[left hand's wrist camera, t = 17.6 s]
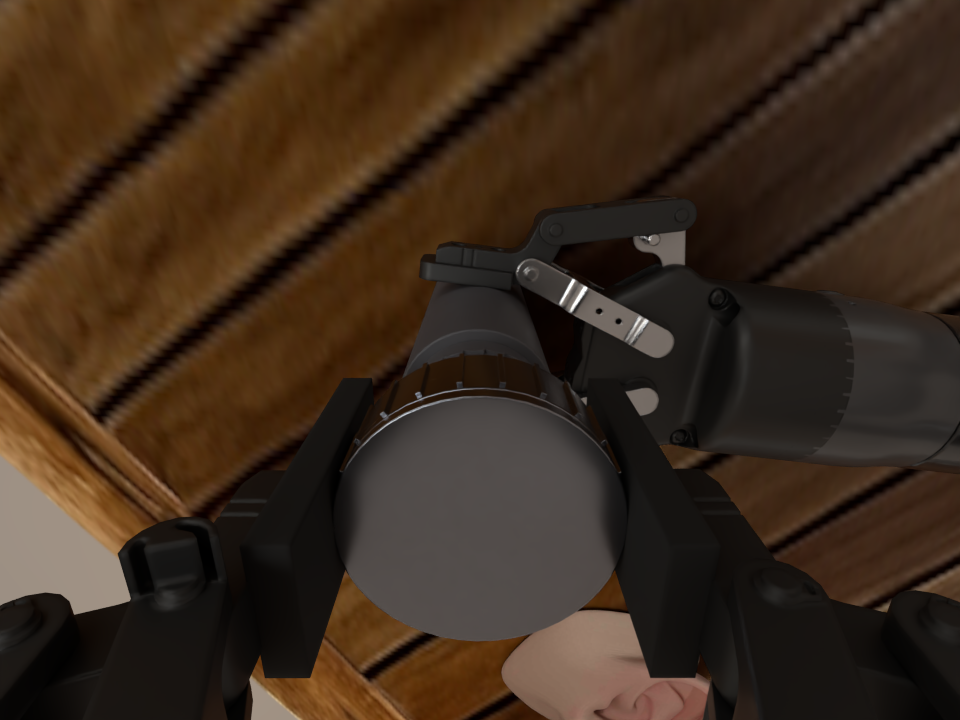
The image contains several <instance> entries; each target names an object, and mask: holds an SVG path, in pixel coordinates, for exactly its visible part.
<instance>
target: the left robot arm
mask: <svg viewBox="0 0 960 720" xmlns="http://www.w3.org/2000/svg"><path fill="white" fill-rule="evenodd" d="M371 404H372V405H374V398H373V386H372V378H343V380H342V381H341V383H340V384H339V386H338V388H337V389H336V391H335V392H334V394H333V396H332V397H331V399H330V401H329V402H328V404H327V405H326V407H325V409H324V410H323V412H322V414H321V415H320V417H319V418H318V420H317V422H316V423H315V425H314V426H313V428H312V430H311V431H310V433H309V435H308V436H307V438H306V439H305V441H304V443H303V444H302V446H301V447H300V449H299V451H298V452H297V454H296V456H295V457H294V459H293V460H292V462H291V464H290V465H289V467H288V469H287V470H286V471H260V472H259V473H257V474H256V475H254V476H253V477H252V478H250V479H249V480H247V481H246V482H244V483H243V484H242V485H241V486H240V488H239V489H238V490H237V492H236V493H235V494H234V496H233V497H232V499H231V500H230V503H228V504H227V505H226V507H225V508H224V510H223V511H222V512H221V516H220V517H218V518H217V519H216V521H215V522H214V523H213V522H211V521H210V520H209V519H204V518H200V517H180V518H175V519H171V520H168V521H164V522H160V523H158V524H156V525H153V526H151V527H149V528H147V529H145V530H143V531H141V532H140V533H138V534H137V535H135V536H134V537H133V538H131V539H130V540H129V541H127V542H126V544H125V545H124V546H123V547H122V549H121V550H120V551H119V553H118V556H119V560H120V563H121V566H122V570H123V573H124V577H125V580H126V583H127V587H128V590H129V593H130V597H131V600H130V601H129V602H126V603H122V604H119V605H115V606H111V607H106V608H102V609H98V610H93V611H89V612H85V613H80V614H76V615H74V613H73V610H72V608H71V605H70V602H69V601H68V600H67V599H66V598H65V597H63V596H62V595H61V594H53V593H40V594H34V595H28V596H24V597H21V598H19V599H16V600H12V601H10V602H7V603H4V604H2V605H1V606H0V720H251V714H252V704H253V698H252V691H251V685H250V681H249V679H250V676H251V674H252V672H253V670H254V667H255V665H256V663H257V661H258V658H259V656H260V655H261V660H262V665H263V670H264V675H265V678H310V677H311V674H312V670H313V667H314V664H315V661H316V658H317V655H318V652H319V649H320V646H321V643H322V640H323V637H324V634H325V631H326V628H327V624H328V621H329V618H330V615H331V612H332V609H333V606H334V603H335V600H336V597H337V594H338V591H339V588H340V585H341V582H342V578H343V575H344V572H345V567H344V565H343V563H342V561H341V559H340V557H339V554H338V551H337V547H336V544H335V538H334V530H333V520H332V508H333V501H334V495H335V491H336V488H337V485H338V482H339V479H340V476H341V475H338V472H339V469H340V467H341V465H342V463H343V460H344V458H345V456H346V454H347V452H348V449H349V447H350V445H351V443H352V440H353V438H354V436H355V434H356V433H358V430H359V428H360V426H361V424H362V421H363V419H364V417H365V415H366V412H367V410H368V408H369V406H370V405H371ZM589 405H590V406H591V407H592V408H593V411H594V413H595V415H596V417H597V420H598V422H599V424H600V426H601V429H602V431H603V433H604V434H605V435H606V438H607V440H608V442H609V444H610V447H611V449H612V451H613V453H614V455H615V458H616V460H617V462H618V464H619V467H620V469H621V471H622V474H623V476H622V477H620V478H621V481H622V483H623V486H624V490H625V494H626V498H627V503H628V524H627V533H626V540H625V546H624V550H623V552H622V555H621V557H620V560H619V562H618V565H617V566H616V568H615V571H616V574H617V577H618V581H619V584H620V587H621V590H622V593H623V596H624V599H625V602H626V605H627V608H628V611H629V614H630V617H631V620H632V623H633V626H634V630H635V633H636V636H637V639H638V642H639V645H640V648H641V651H642V654H643V657H644V660H645V663H646V666H647V669H648V672H649V676H650V678H695V677H696V672H697V667H698V662H699V657H700V653H701V655H702V657H703V659H704V662H705V664H706V666H707V668H708V671H709V673H710V675H711V681H710V685H709V690H708V695H707V700H706V704H705V709H704V714H703V719H702V720H960V603H959V602H958V601H955V600H952V599H950V598H946V597H944V596H941V595H938V594H935V593H929V592H922V591H916V590H915V591H907V592H900V593H899V594H898V595H896V596H895V597H894V598H893V599H892V600H891V603H890V606H889V609H888V612H887V613H886V612H881V611H877V610H873V609H868V608H864V607H860V606H855V605H851V604H846V603H842V602H839V601H836V600H832V599H829V597H828V595H827V594H826V592H825V591H824V589H823V588H822V586H821V585H820V584H819V583H818V582H816V581H815V580H814V579H813V578H811V577H810V576H809V575H808V574H807V573H805V572H803V571H801V570H799V569H797V568H795V567H793V566H791V565H789V564H786V563H783V562H779V561H776V560H775V559H774V557H773V556H772V555H771V553H770V552H769V550H768V549H767V548H766V546H765V545H764V544H763V542H762V541H761V540H760V538H759V537H758V535H757V534H756V533H755V531H754V530H753V529H752V527H751V526H750V524H749V523H748V522H747V520H746V519H745V518H744V516H743V515H740V511H739V509H738V508H737V507H736V505H735V504H734V503H733V502H731V500H730V497H729V496H728V494H727V493H726V492H725V490H724V489H723V488H722V486H721V485H720V484H719V482H717V481H716V480H714V479H713V478H711V477H710V476H709V475H707V474H706V473H704V472H703V471H701V470H700V469H673V468H672V466H671V465H670V463H669V461H668V460H667V458H666V457H665V455H664V453H663V452H662V450H661V449H660V447H659V445H658V444H657V442H656V440H655V439H654V437H653V436H652V434H651V432H650V431H649V429H648V427H647V426H646V424H645V423H644V421H643V419H642V418H641V416H640V415H639V413H638V411H637V410H636V408H635V406H634V405H633V403H632V402H631V400H630V398H629V397H628V395H627V394H626V392H625V390H624V389H623V387H622V385H621V384H620V382H619V381H618V379H617V378H588V390H587V403H586V406H587V407H588V406H589Z"/></svg>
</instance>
